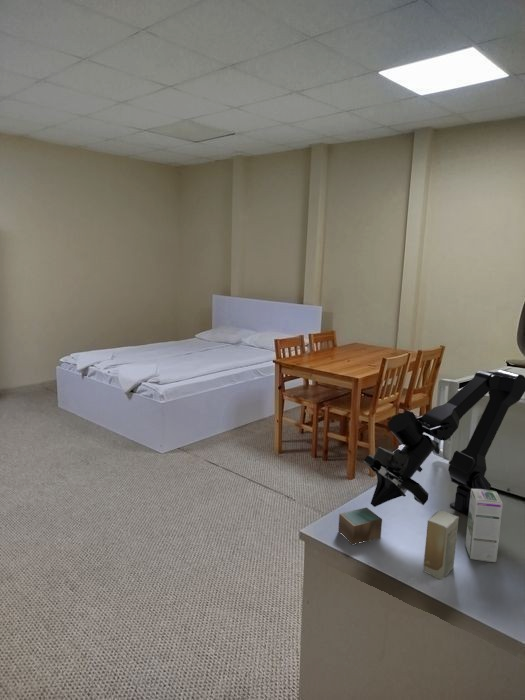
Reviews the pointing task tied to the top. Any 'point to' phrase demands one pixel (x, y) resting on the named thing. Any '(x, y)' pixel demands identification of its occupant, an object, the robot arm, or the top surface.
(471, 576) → the top surface
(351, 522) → the walnut block
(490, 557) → the syrup box
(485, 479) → the robot arm
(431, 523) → the skincare box
